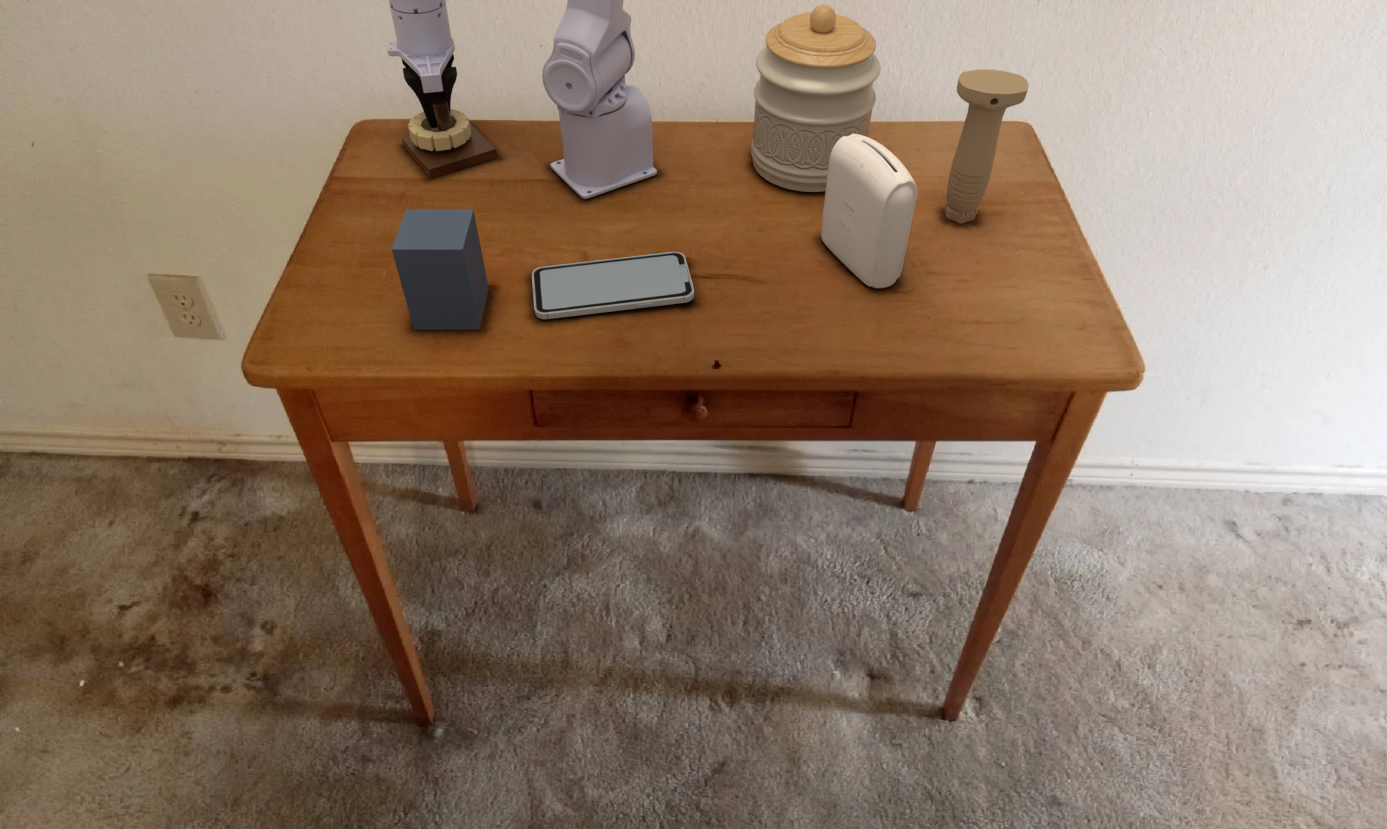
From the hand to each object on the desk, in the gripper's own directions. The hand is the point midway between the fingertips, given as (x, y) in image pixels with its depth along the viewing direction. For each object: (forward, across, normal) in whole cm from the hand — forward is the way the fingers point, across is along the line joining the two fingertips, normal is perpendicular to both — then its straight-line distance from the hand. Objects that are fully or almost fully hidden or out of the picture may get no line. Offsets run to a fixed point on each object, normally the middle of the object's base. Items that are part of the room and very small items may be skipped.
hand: (439, 121), depth 106 cm
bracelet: (0, +2, 0) cm, 2 cm away
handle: (+1, +30, +51) cm, 59 cm away
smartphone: (+1, +33, +13) cm, 35 cm away
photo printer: (+1, +34, +38) cm, 51 cm away
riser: (+2, +32, -2) cm, 32 cm away
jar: (+1, +16, +40) cm, 43 cm away
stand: (+2, +3, +1) cm, 4 cm away
